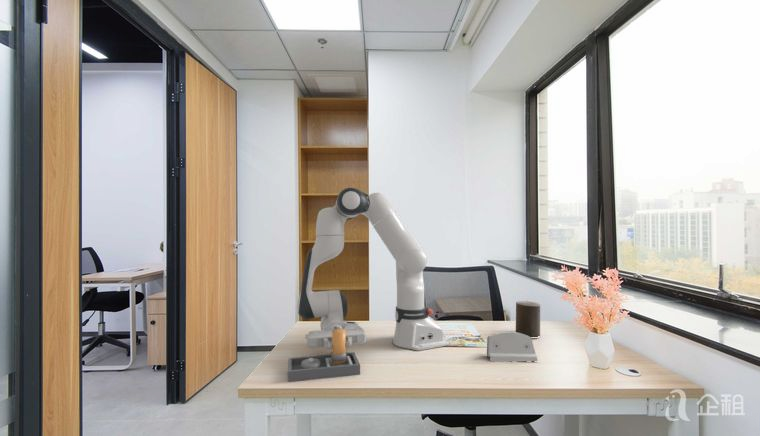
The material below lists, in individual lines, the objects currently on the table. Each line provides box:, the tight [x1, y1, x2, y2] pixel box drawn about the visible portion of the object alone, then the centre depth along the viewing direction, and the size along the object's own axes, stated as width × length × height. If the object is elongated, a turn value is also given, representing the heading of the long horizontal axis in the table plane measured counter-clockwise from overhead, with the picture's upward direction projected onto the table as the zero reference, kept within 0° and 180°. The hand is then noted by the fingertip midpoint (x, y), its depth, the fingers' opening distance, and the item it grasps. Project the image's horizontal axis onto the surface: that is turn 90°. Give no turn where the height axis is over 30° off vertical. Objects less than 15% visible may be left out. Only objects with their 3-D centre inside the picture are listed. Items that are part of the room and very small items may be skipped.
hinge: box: [486, 331, 538, 362], centre depth 123 cm, size 17×5×10 cm, turn 87°
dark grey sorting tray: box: [287, 351, 361, 383], centre depth 111 cm, size 22×11×4 cm, turn 104°
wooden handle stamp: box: [331, 329, 347, 364], centre depth 113 cm, size 5×5×10 cm
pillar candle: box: [515, 299, 541, 337], centre depth 148 cm, size 10×10×15 cm
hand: (339, 345), depth 112 cm, fingers closed on wooden handle stamp, 4 cm apart
